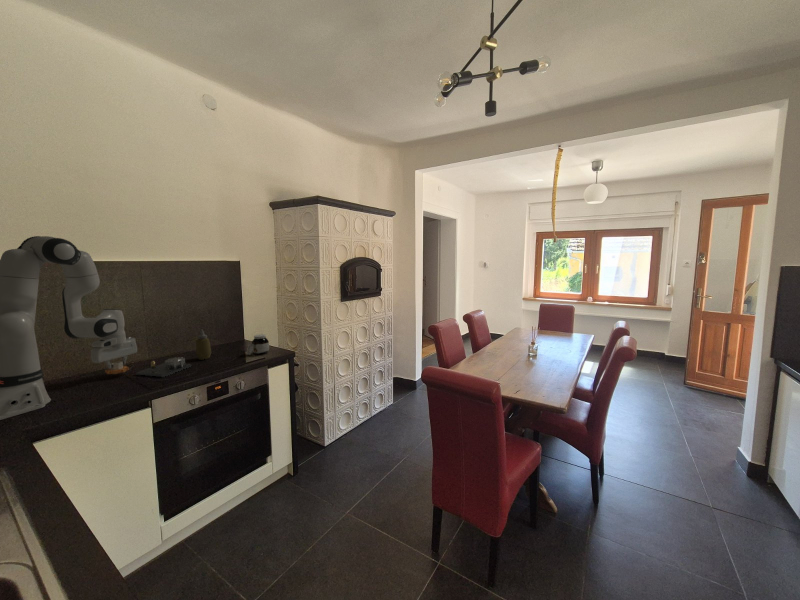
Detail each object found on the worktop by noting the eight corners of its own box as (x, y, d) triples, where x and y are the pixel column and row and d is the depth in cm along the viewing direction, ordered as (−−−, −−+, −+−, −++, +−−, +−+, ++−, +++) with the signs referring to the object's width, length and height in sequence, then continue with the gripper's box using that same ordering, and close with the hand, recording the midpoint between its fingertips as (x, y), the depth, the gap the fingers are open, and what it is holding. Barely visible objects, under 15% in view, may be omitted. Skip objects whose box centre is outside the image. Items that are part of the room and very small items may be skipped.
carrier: (163, 377, 164) (162, 365, 163) (136, 375, 168) (135, 362, 167) (191, 366, 181) (190, 355, 180) (166, 364, 184) (165, 353, 183)
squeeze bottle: (193, 359, 195) (191, 329, 193) (208, 355, 201) (205, 327, 199) (200, 361, 190) (197, 331, 188) (214, 358, 197) (212, 329, 195)
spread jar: (271, 352, 209) (270, 334, 207) (257, 357, 198) (256, 338, 197) (257, 350, 213) (256, 333, 212) (243, 355, 203) (242, 336, 202)
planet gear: (115, 374, 161) (114, 366, 161) (100, 373, 163) (99, 364, 162) (133, 369, 170) (132, 360, 169) (119, 368, 172) (118, 359, 171)
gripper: (130, 335, 175) (132, 360, 177) (87, 344, 155) (89, 372, 157) (139, 336, 174) (141, 361, 176) (97, 345, 154) (100, 373, 156)
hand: (116, 366), depth 166 cm, fingers closed on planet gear, 5 cm apart
